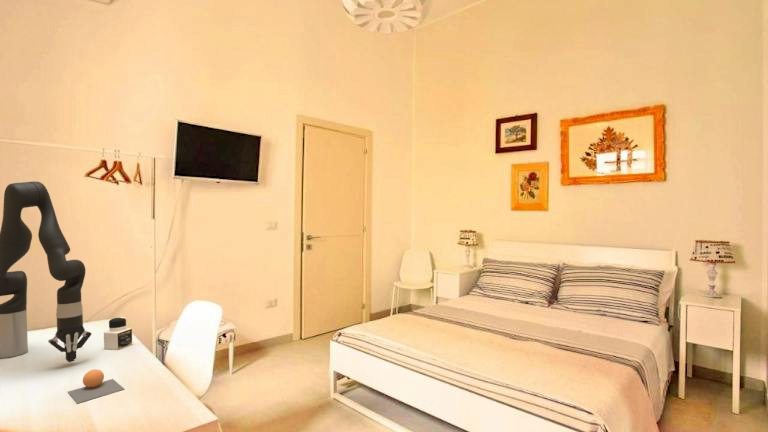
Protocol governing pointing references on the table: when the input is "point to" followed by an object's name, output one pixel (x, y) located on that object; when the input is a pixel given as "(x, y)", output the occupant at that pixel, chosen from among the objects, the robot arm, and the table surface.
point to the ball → (93, 378)
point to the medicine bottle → (117, 334)
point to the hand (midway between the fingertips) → (71, 361)
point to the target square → (95, 391)
